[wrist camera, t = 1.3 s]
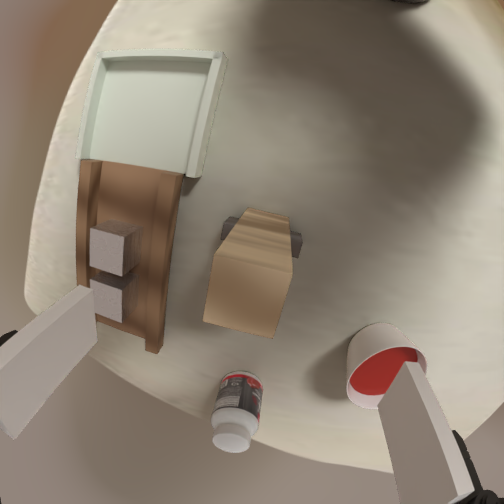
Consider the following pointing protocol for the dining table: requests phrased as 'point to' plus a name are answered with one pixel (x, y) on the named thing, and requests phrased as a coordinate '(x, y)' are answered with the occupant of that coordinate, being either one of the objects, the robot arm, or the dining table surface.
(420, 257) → the dining table surface
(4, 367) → the robot arm
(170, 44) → the dining table surface
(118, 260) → the grey cube
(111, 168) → the slot board
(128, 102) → the tray
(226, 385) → the pill bottle
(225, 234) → the tapered wooden board
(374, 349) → the white round cup
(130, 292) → the pinkish grey cube
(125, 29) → the dining table surface
